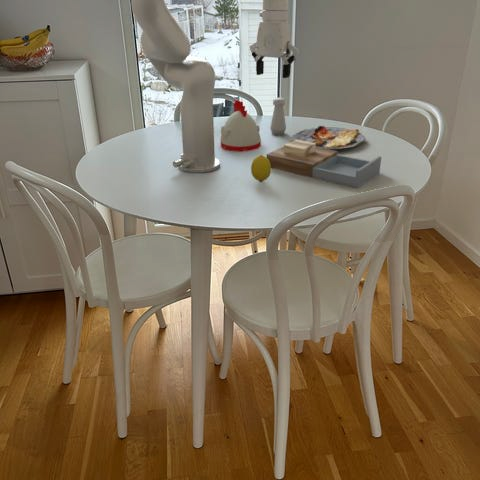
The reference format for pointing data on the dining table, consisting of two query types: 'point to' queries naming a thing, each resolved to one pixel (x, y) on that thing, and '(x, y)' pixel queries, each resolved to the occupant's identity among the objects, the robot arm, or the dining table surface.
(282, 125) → the salt shaker
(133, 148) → the dining table surface
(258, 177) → the lemon
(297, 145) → the tile
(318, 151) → the wooden square board
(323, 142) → the food plate
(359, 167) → the box
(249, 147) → the kitchen timer
